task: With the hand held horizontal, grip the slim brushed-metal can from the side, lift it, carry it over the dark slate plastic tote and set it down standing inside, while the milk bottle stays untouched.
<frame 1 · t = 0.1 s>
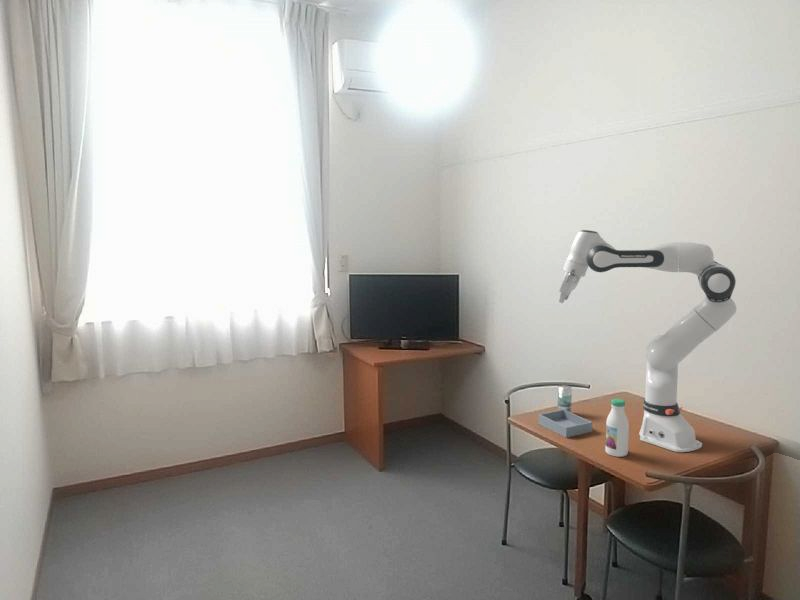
hand: (563, 300, 226), 52 cm above the table, tool tilted 20°, fingers open, 8 cm apart
milk bottle: (616, 453, 203), on the table
tote: (564, 427, 228), on the table
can: (564, 413, 244), on the table
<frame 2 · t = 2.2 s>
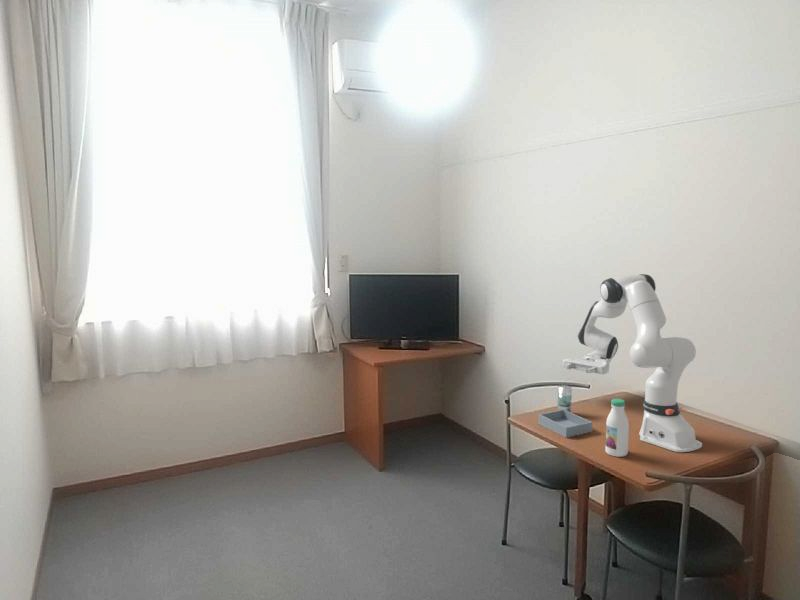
hand: (577, 369, 251), 17 cm above the table, tool horizontal, fingers open, 8 cm apart
nothing on the table moved.
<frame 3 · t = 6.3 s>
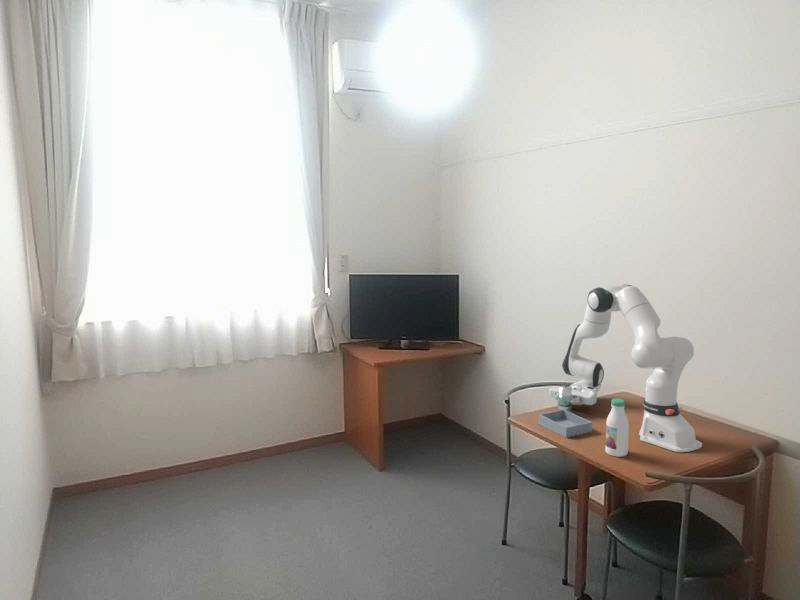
hand: (563, 399, 243), 7 cm above the table, tool horizontal, fingers closed on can, 6 cm apart
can: (564, 413, 244), on the table, touching gripper
everything else where it was.
when the fingers open (9 cm above the table, at t = 10.8 s): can drops 1 cm, resting on tote.
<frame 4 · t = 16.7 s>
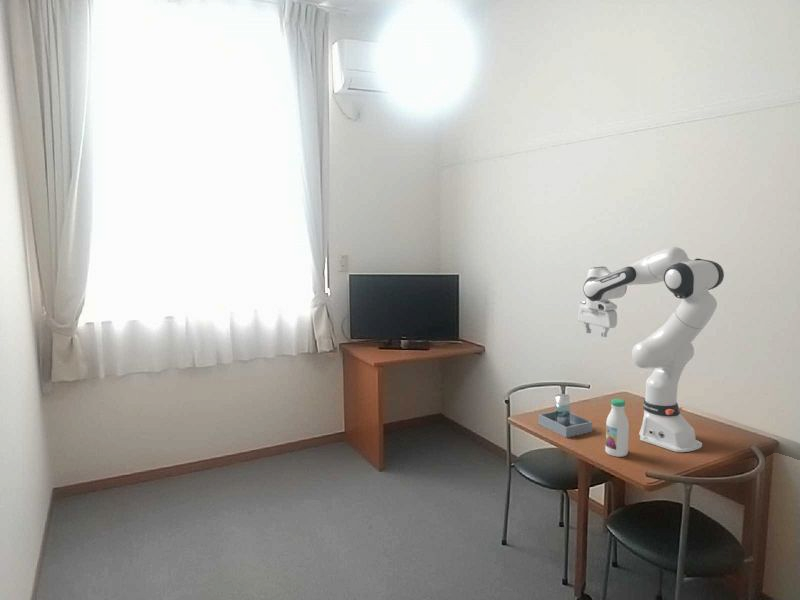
hand: (596, 334, 244), 34 cm above the table, tool pointing down, fingers open, 8 cm apart
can: (563, 423, 230), point 1 cm above the table, touching tote
everything else where it was.
at the end: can inside the target area on the tote (2.3 cm from its centre), point 0.7 cm above the tote's base; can tilted 3°; the gripper is holding nothing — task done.
